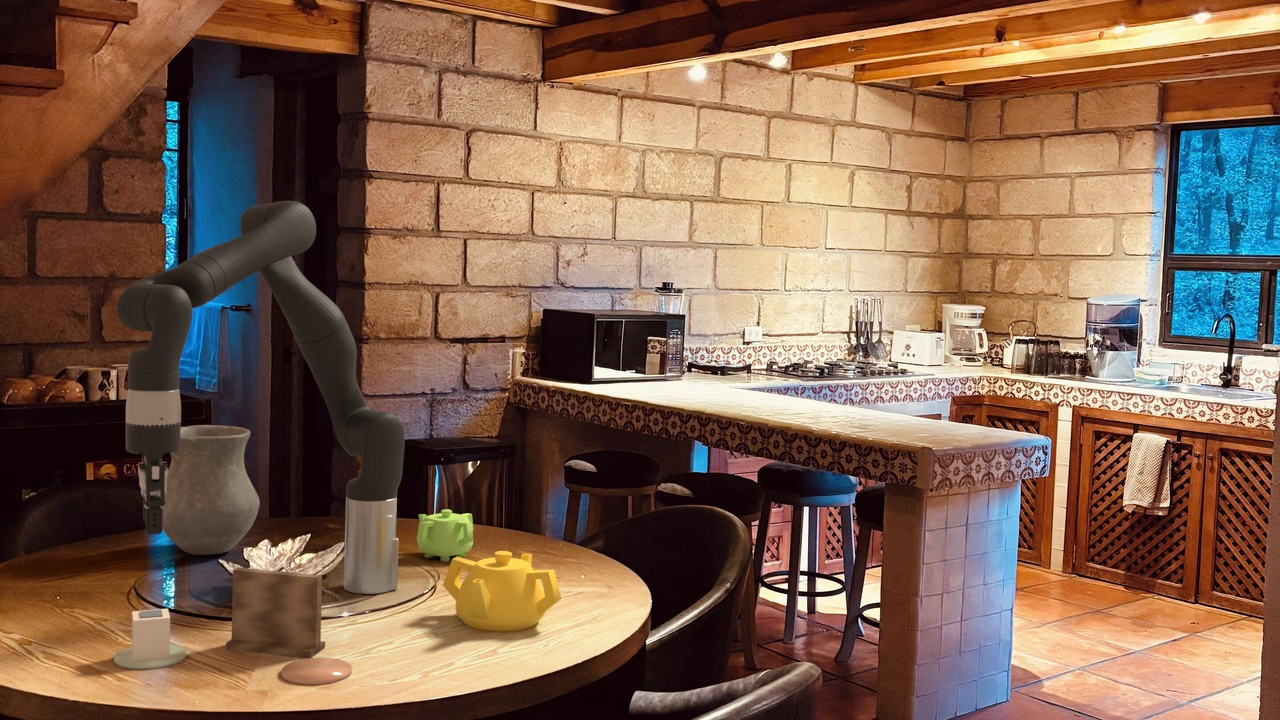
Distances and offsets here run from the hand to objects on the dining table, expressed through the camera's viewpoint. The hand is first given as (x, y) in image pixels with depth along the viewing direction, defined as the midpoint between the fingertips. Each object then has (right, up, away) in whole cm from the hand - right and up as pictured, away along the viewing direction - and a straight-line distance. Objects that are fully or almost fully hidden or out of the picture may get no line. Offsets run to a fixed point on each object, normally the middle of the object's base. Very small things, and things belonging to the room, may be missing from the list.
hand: (152, 527), depth 175 cm
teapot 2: (+48, -20, +28) cm, 60 cm away
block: (-1, -19, +2) cm, 19 cm away
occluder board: (+16, -20, +8) cm, 27 cm away
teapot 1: (+32, -16, +71) cm, 79 cm away
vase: (-16, -15, +66) cm, 69 cm away
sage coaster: (-1, -20, +1) cm, 20 cm away
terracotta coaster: (+25, -21, -2) cm, 33 cm away
